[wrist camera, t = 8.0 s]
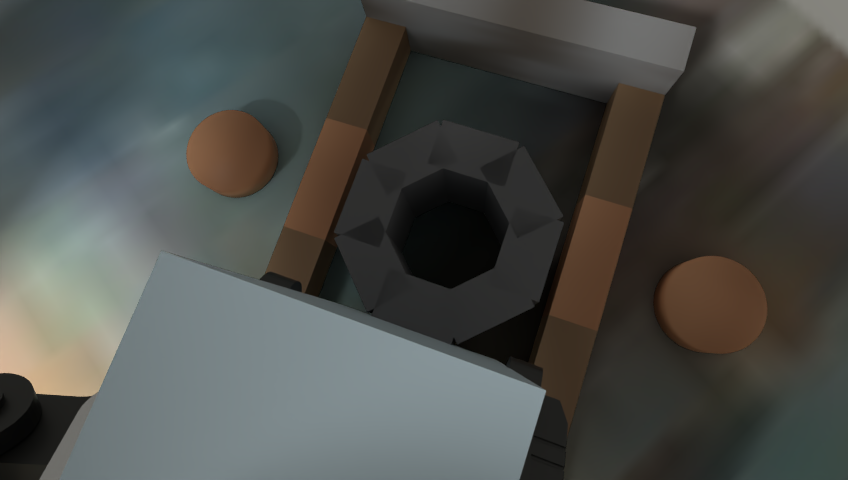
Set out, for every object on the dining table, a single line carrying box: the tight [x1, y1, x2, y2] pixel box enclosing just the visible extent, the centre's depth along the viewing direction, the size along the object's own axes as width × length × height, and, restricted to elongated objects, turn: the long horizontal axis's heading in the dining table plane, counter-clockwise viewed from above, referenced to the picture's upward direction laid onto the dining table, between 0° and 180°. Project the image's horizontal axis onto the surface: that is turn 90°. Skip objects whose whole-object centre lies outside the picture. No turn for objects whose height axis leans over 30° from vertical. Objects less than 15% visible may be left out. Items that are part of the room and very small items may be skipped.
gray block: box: [60, 251, 546, 480], centre depth 11 cm, size 5×5×10 cm
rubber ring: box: [334, 120, 564, 345], centre depth 16 cm, size 6×6×4 cm
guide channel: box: [186, 0, 767, 436], centre depth 16 cm, size 20×24×3 cm
